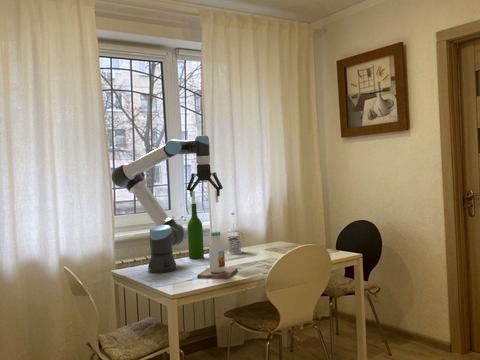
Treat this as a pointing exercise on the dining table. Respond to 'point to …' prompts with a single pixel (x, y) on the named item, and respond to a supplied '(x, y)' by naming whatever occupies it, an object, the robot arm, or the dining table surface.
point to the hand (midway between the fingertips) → (205, 202)
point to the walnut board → (222, 275)
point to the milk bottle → (216, 254)
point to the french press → (230, 247)
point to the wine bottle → (195, 235)
